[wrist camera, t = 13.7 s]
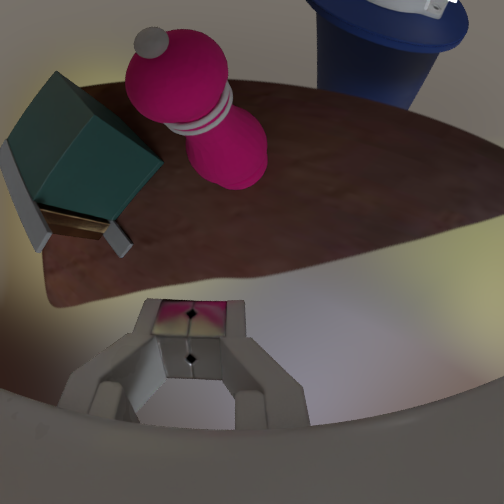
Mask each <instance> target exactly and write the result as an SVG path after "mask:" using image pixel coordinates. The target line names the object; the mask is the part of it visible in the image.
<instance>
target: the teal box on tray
mask: <svg viewBox="0 0 504 504" xmlns="http://www.w3.org/2000/svg"><path fill="white" fill-rule="evenodd" d="M163 164H164V162H163V161H162V160H161V159H160V158H159V157H158V156H157V155H156V154H155V153H154V152H153V151H152V150H151V149H150V148H149V147H148V146H147V145H146V144H145V143H144V142H143V141H142V140H141V139H140V138H139V137H138V136H137V135H136V134H135V133H134V132H133V131H132V130H131V129H130V128H129V127H128V126H127V125H126V124H125V123H124V122H123V121H122V120H121V119H120V118H119V117H118V116H117V115H116V114H114V113H113V112H112V111H110V110H109V109H108V108H106V107H105V106H104V105H102V104H101V103H100V102H98V101H97V100H96V99H94V98H93V97H92V96H90V95H89V94H88V93H86V92H85V91H84V90H82V89H81V88H80V87H78V86H77V85H75V84H74V83H73V82H71V81H70V80H69V79H67V78H66V77H64V76H63V75H62V74H60V73H59V72H58V71H55V72H54V74H53V75H52V76H51V77H50V78H49V80H48V81H47V82H46V84H45V85H44V86H43V87H42V89H41V90H40V91H39V93H38V94H37V95H36V97H35V98H34V99H33V101H32V102H31V103H30V105H29V106H28V108H27V109H26V110H25V112H24V113H23V115H22V116H21V118H20V119H19V121H18V122H17V124H16V125H15V127H14V129H13V130H12V132H11V133H10V135H9V137H8V138H7V139H5V141H4V142H3V144H2V146H1V148H0V168H1V171H2V173H3V177H4V179H5V182H6V185H7V187H8V190H9V193H10V196H11V198H12V201H13V203H14V206H15V208H16V210H17V212H18V215H19V217H20V220H21V222H22V224H23V227H24V228H25V231H26V233H27V235H28V237H29V239H30V241H31V244H32V246H33V248H34V249H35V252H37V253H41V251H42V249H43V248H44V246H45V244H46V243H47V241H48V239H49V238H50V236H51V234H52V232H51V230H50V228H49V226H48V224H47V222H46V220H45V219H44V217H43V215H42V213H41V211H40V209H39V207H38V205H37V203H42V204H46V205H50V206H55V207H59V208H63V209H67V210H71V211H75V212H79V213H84V214H88V215H92V216H96V217H100V218H104V219H107V221H108V222H109V223H110V226H109V227H108V229H107V230H106V231H105V232H104V234H103V236H104V237H105V238H106V240H107V241H108V243H109V244H110V245H111V247H112V248H113V249H114V251H115V252H116V253H117V255H118V256H119V257H120V258H123V257H124V255H125V254H126V253H127V252H128V250H129V249H130V248H131V247H132V245H133V243H132V242H131V241H130V239H129V238H128V237H127V236H126V234H125V233H124V232H123V230H122V229H121V228H120V226H119V225H118V224H117V223H116V221H115V220H116V219H117V218H118V216H119V215H120V214H121V213H122V211H123V210H124V209H125V208H126V206H127V205H128V204H129V203H130V202H131V200H132V199H133V198H134V197H135V196H136V194H137V193H138V192H139V191H140V190H141V188H142V187H143V186H144V185H145V184H146V183H147V182H148V180H149V179H150V178H151V177H152V176H153V175H154V174H155V172H156V171H157V170H158V169H159V168H160V167H161V166H162V165H163ZM36 202H37V203H36Z"/></svg>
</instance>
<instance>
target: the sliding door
mask: <svg viewBox="0 0 504 504" xmlns="http://www.w3.org/2000/svg"><path fill="white" fill-rule="evenodd" d="M36 203H37V202H36ZM37 205H38V207H39V209H40V211H41V213H42V215H43V217H44V219H45V220H46V222H47V224H48V226H49V228H50V230H51V232H52V234H58V235H65V236H73V237H80V238H87V239H94V240H99V239H100V238H101V236H102V235H103V234H104V232H105V231H106V230H107V229H108V227H109V226H110V223H109V222H108V221H107V219H104V218H100V217H96V216H92V215H88V214H84V213H79V212H75V211H71V210H67V209H63V208H59V207H55V206H50V205H46V204H42V203H37Z"/></svg>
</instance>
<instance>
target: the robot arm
mask: <svg viewBox="0 0 504 504" xmlns="http://www.w3.org/2000/svg"><path fill="white" fill-rule="evenodd" d="M367 1H369V2H371V3H373V4H376V5H378V6H381V7H384V8H387V9H391V10H395V11H399V12H405V13H417V14H422V15H425V16H428V17H431V18H435V19H440V18H441V16H442V14H443V12H444V10H445V8H446V6H447V4H448V2H449V1H452V2H455V3H456V2H457V0H367ZM167 378H181V379H182V378H183V379H205V380H222V381H223V383H224V384H225V386H226V387H227V389H228V390H229V392H230V393H231V395H232V396H233V397H234V399H235V430H208V429H189V428H176V427H165V426H155V425H147V424H141V423H140V421H139V420H138V417H137V415H136V413H137V412H138V411H139V410H140V408H141V407H142V406H143V405H144V404H145V403H146V402H147V401H148V400H149V398H150V397H151V396H152V395H153V394H154V393H155V392H156V391H157V389H159V388H160V386H161V385H162V384H163V383H164V382H165V381H166V380H167ZM0 504H504V376H503V377H500V378H498V379H496V380H493V381H491V382H489V383H486V384H484V385H481V386H478V387H476V388H473V389H470V390H468V391H465V392H462V393H459V394H456V395H454V396H450V397H447V398H444V399H441V400H438V401H434V402H431V403H428V404H424V405H421V406H417V407H413V408H409V409H405V410H401V411H397V412H392V413H388V414H383V415H379V416H374V417H368V418H363V419H357V420H351V421H345V422H339V423H331V424H324V425H315V426H310V421H309V415H308V410H307V406H306V400H305V396H304V390H303V387H302V386H301V385H300V384H299V383H298V382H297V381H296V380H295V379H293V377H291V376H290V375H289V374H288V373H287V372H286V371H285V370H284V369H283V368H282V367H281V366H280V365H279V364H278V363H277V362H276V361H275V360H274V359H273V358H272V357H270V355H269V354H268V353H266V351H265V350H263V349H262V348H261V347H260V346H259V345H258V344H257V343H256V342H255V341H254V340H253V339H252V338H246V319H245V302H244V300H234V301H233V300H232V301H192V300H191V301H190V300H172V299H149V298H147V299H146V300H145V301H144V304H143V307H142V309H141V312H140V314H139V317H138V319H137V322H136V325H135V327H134V330H133V333H127V334H126V335H124V336H123V337H122V338H120V339H119V340H117V341H116V342H115V343H113V344H112V345H110V346H109V347H107V348H106V349H105V350H103V351H102V352H101V353H99V354H98V355H96V356H95V357H93V358H92V359H91V360H89V361H88V362H87V363H85V364H84V365H82V366H81V367H79V368H78V369H77V370H75V371H74V372H72V373H71V375H70V377H69V379H68V381H67V384H66V386H65V388H64V391H63V393H62V395H61V398H60V401H59V403H58V405H57V407H56V406H53V405H49V404H45V403H42V402H39V401H36V400H32V399H29V398H26V397H23V396H20V395H18V394H15V393H12V392H9V391H7V390H4V389H1V388H0Z"/></svg>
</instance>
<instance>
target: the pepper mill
mask: <svg viewBox="0 0 504 504" xmlns="http://www.w3.org/2000/svg"><path fill="white" fill-rule="evenodd" d="M134 49H135V51H136V53H135V54H134V56H133V57H132V59H131V61H130V63H129V66H128V68H127V71H126V77H125V86H126V91H127V95H128V97H129V99H130V101H131V103H132V104H133V105H134V107H135V108H136V109H137V110H138V111H139V112H140V113H141V114H142V115H144V116H145V117H147V118H149V119H151V120H153V121H155V122H160V123H164V124H165V125H167V127H168V128H169V129H170V130H172V131H173V132H175V133H177V134H181V135H185V136H186V152H187V155H188V159H189V161H190V163H191V165H192V167H193V168H194V169H195V170H196V171H197V173H198V174H199V175H200V176H201V177H203V178H204V179H206V180H208V181H210V182H213V183H216V184H219V185H220V186H222V187H224V188H227V189H231V190H240V189H244V188H247V187H249V186H251V185H253V184H255V183H256V182H257V181H258V180H259V179H260V178H261V177H262V175H263V174H264V172H265V170H266V167H267V160H268V158H267V152H266V151H267V138H266V134H265V132H264V130H263V128H262V126H261V124H260V123H259V121H258V120H257V119H256V118H255V117H254V116H253V115H252V114H250V113H249V112H248V111H246V110H244V109H242V108H239V107H237V106H234V105H233V104H232V101H233V94H232V89H231V87H230V85H229V83H228V81H227V79H228V66H227V60H226V58H225V55H224V53H223V51H222V49H221V48H220V47H219V45H218V44H217V43H216V42H215V41H214V40H213V39H211V38H210V37H208V36H207V35H205V34H204V33H202V32H198V31H194V30H188V29H177V30H171V31H167V32H165V31H164V30H163V29H160V28H158V27H149V28H146V29H144V30H142V31H141V32H140V33H138V35H137V36H136V38H135V41H134Z"/></svg>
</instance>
